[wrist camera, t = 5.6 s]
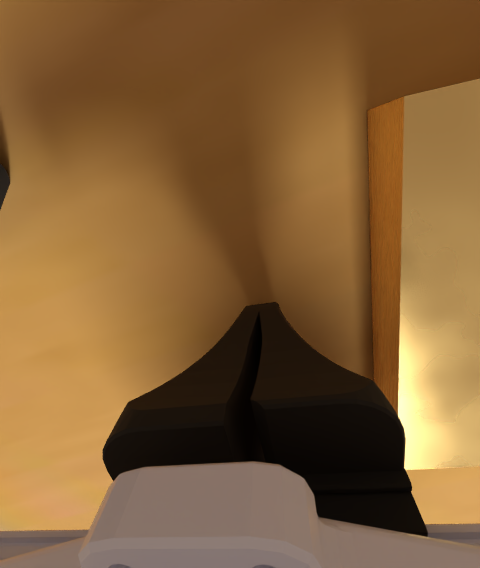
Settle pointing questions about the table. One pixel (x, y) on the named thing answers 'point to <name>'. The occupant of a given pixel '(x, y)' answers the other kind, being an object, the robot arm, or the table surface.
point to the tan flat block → (428, 269)
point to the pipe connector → (3, 184)
